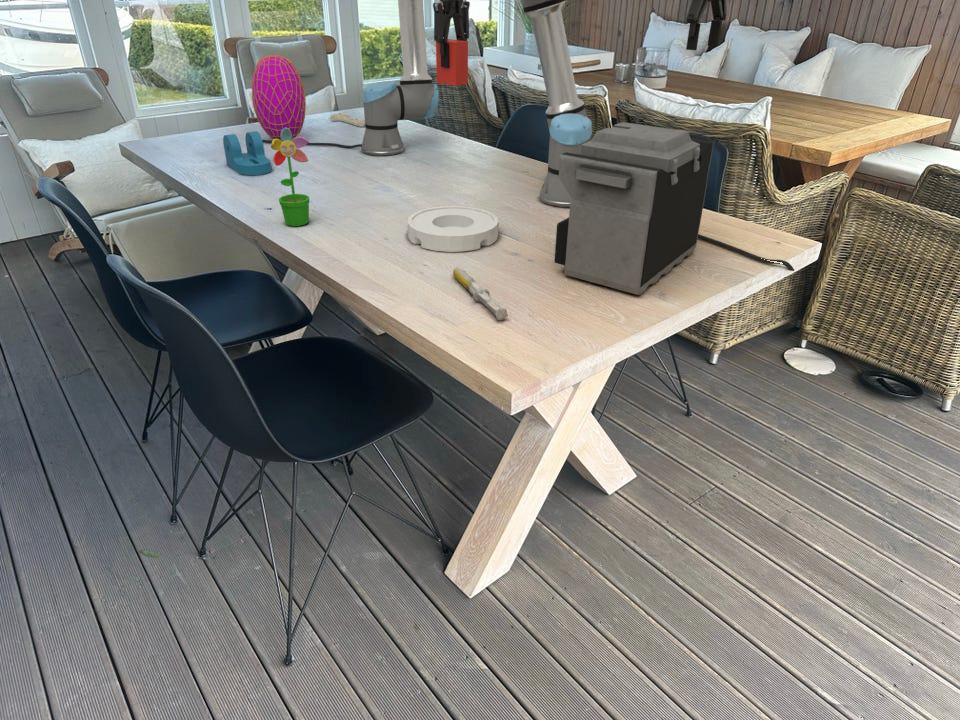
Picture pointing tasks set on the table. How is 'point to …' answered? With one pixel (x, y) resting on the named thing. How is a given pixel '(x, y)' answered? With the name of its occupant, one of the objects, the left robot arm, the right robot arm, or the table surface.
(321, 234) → the table surface
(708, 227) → the table surface
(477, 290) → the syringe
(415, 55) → the left robot arm
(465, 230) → the ashtray
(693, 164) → the grey cooler box
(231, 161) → the camera mount
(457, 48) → the brick
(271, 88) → the decorative egg
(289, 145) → the potted flower
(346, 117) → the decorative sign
